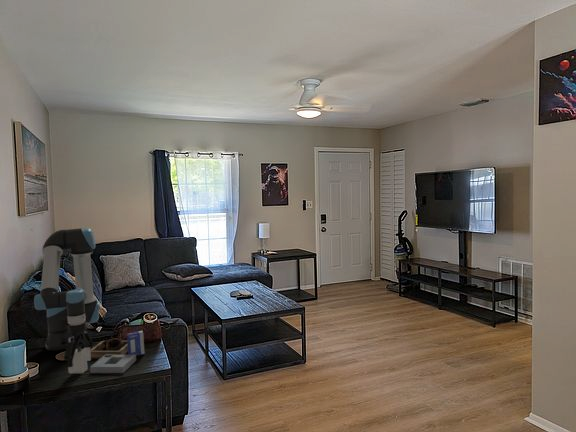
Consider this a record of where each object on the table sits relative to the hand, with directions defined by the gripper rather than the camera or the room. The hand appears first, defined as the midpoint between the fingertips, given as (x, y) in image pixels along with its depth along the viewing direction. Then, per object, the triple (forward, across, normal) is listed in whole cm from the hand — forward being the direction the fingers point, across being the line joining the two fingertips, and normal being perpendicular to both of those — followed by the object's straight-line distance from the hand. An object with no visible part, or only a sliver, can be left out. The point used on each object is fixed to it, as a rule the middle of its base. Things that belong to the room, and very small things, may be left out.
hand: (80, 366), depth 202 cm
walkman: (+2, +19, -19) cm, 27 cm away
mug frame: (+2, +22, -4) cm, 22 cm away
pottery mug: (+3, +23, -5) cm, 24 cm away
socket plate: (+2, +5, -14) cm, 15 cm away
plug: (+2, 0, 0) cm, 2 cm away
